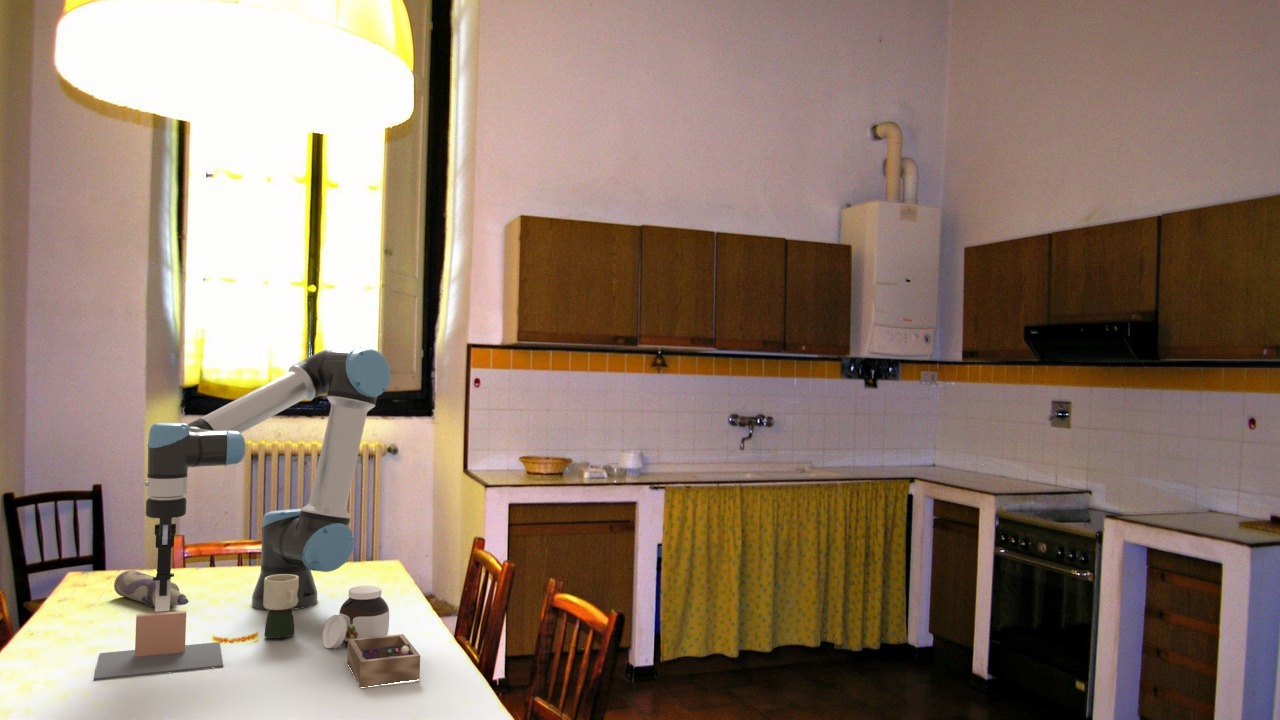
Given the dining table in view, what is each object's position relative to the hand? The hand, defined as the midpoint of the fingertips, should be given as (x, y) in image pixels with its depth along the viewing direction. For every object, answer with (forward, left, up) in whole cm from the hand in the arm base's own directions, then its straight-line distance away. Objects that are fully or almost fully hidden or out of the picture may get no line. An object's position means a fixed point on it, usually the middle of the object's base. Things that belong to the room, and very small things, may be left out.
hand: (162, 610), depth 196 cm
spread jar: (-37, +13, -8) cm, 40 cm away
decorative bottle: (+3, -36, -8) cm, 37 cm away
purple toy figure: (-39, +37, -8) cm, 54 cm away
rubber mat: (0, +11, -7) cm, 13 cm away
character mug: (-23, +2, -8) cm, 24 cm away
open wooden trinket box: (-39, +33, -7) cm, 51 cm away
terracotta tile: (0, +7, -7) cm, 10 cm away
